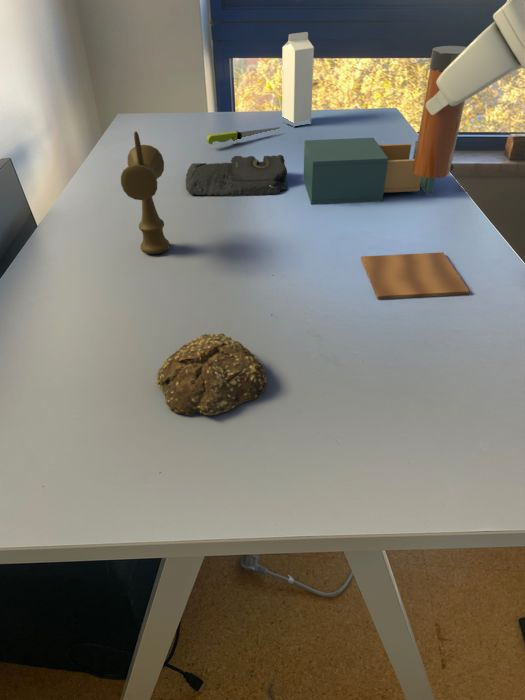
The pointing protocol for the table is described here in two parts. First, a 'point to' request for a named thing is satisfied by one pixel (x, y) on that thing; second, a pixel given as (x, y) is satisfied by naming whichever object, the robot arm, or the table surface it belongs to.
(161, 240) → the kendama
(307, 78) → the milk
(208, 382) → the bread roll
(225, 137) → the kitchen knife
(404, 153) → the drawer
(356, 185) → the cabinet
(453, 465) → the table surface
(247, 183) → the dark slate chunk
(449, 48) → the spice jar
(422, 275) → the wooden board
